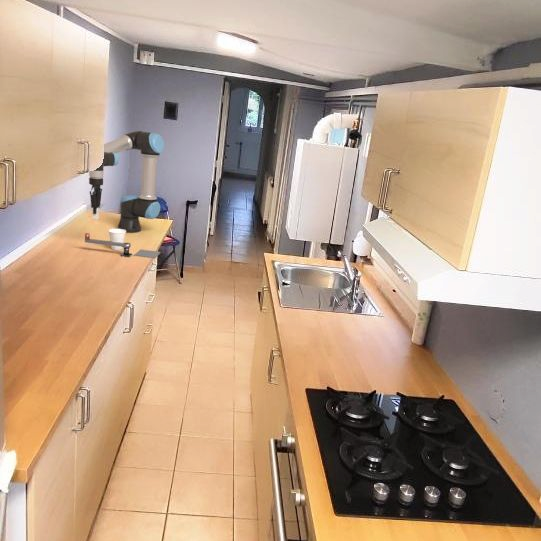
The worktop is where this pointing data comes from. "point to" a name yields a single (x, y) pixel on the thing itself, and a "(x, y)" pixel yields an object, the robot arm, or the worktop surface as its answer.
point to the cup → (117, 237)
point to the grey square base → (126, 253)
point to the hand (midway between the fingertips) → (95, 218)
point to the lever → (105, 242)
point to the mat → (147, 253)
